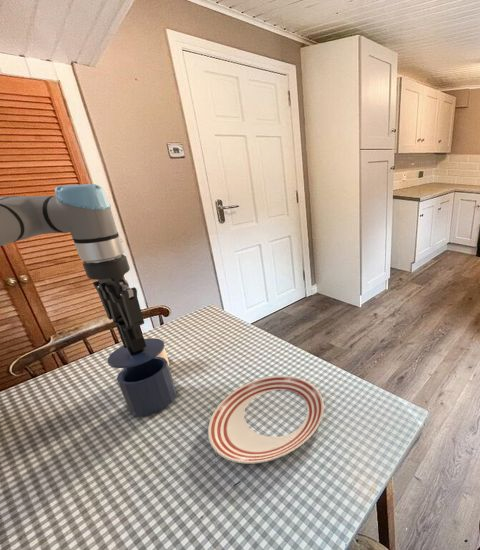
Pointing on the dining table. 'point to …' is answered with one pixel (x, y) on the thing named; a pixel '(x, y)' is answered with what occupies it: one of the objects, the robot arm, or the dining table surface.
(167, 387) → the dark grey canister
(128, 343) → the pot lid
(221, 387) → the dining table surface
